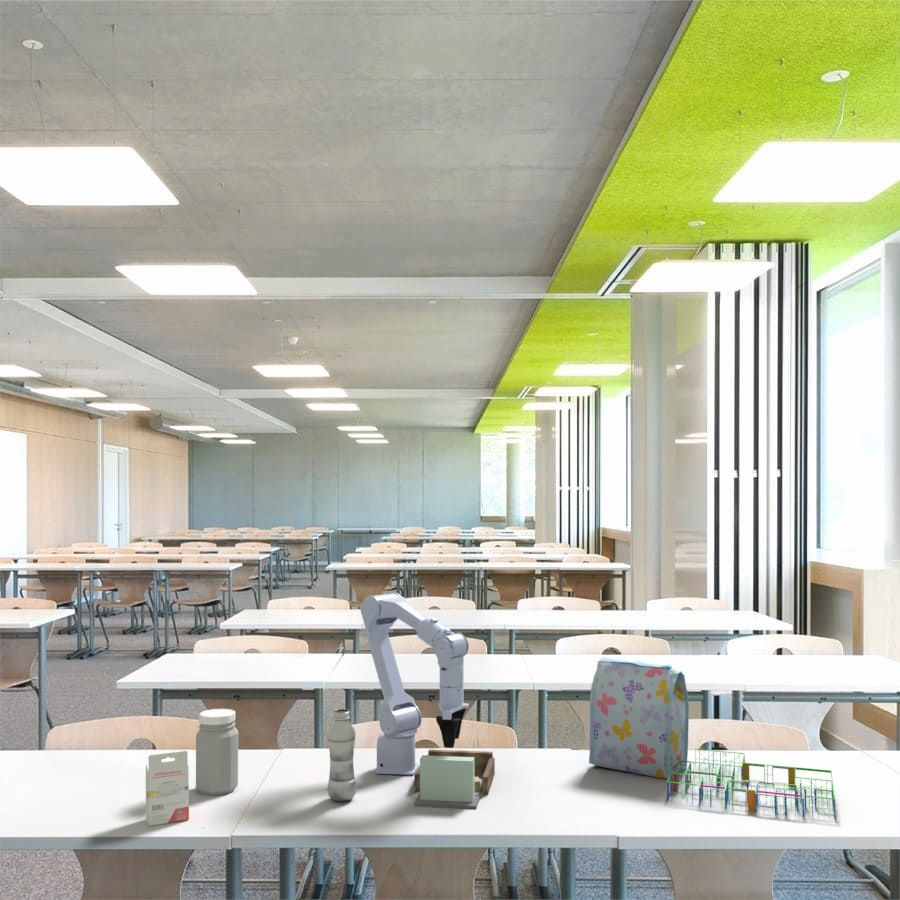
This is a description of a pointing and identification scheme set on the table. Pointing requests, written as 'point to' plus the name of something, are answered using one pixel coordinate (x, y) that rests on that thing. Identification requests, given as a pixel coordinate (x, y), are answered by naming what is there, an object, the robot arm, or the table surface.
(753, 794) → the house model
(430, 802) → the mat
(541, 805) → the table surface
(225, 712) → the jar
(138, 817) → the table surface
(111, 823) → the table surface
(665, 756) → the lunch bag
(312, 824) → the table surface
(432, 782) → the pale green block
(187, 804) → the ink cartridge box
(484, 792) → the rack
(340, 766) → the plastic bottle
